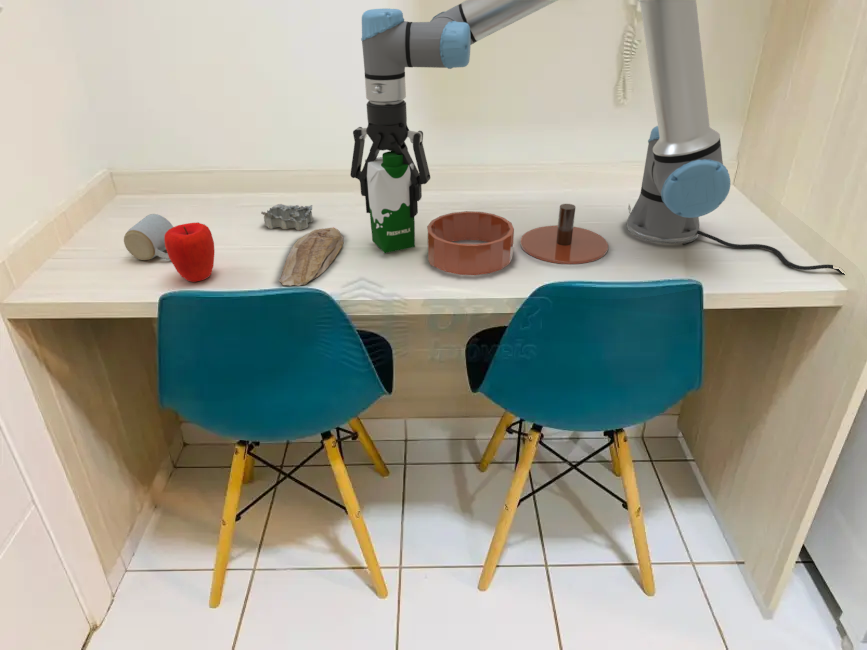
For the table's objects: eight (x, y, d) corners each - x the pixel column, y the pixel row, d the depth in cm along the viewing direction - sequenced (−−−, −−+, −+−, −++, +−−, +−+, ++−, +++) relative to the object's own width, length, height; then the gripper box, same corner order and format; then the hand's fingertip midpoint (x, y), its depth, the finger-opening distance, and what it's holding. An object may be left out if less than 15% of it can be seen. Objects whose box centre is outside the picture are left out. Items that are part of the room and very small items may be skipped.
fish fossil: (326, 286, 120) (325, 280, 120) (274, 289, 121) (273, 284, 120) (345, 229, 142) (344, 224, 141) (300, 233, 143) (299, 228, 142)
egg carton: (261, 228, 145) (258, 212, 142) (274, 216, 151) (271, 200, 149) (305, 231, 143) (302, 214, 140) (316, 219, 149) (314, 202, 147)
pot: (518, 245, 135) (520, 215, 131) (502, 282, 121) (504, 250, 117) (441, 236, 139) (441, 207, 136) (417, 271, 125) (416, 240, 121)
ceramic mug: (125, 260, 131) (116, 226, 127) (149, 244, 138) (141, 211, 134) (171, 266, 129) (162, 231, 125) (193, 249, 136) (185, 216, 132)
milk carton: (382, 256, 130) (375, 160, 119) (366, 240, 137) (359, 148, 126) (420, 248, 133) (418, 154, 122) (404, 232, 140) (399, 142, 129)
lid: (609, 235, 139) (615, 195, 134) (604, 271, 124) (610, 228, 119) (527, 226, 143) (530, 187, 138) (513, 261, 128) (515, 218, 124)
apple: (199, 263, 130) (188, 214, 124) (230, 272, 126) (219, 222, 120) (164, 281, 123) (150, 229, 117) (195, 291, 119) (182, 239, 114)
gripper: (325, 102, 119) (336, 214, 130) (435, 108, 113) (436, 224, 125) (341, 93, 125) (350, 201, 137) (446, 98, 119) (447, 211, 131)
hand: (392, 212), depth 131 cm, fingers closed on milk carton, 9 cm apart
